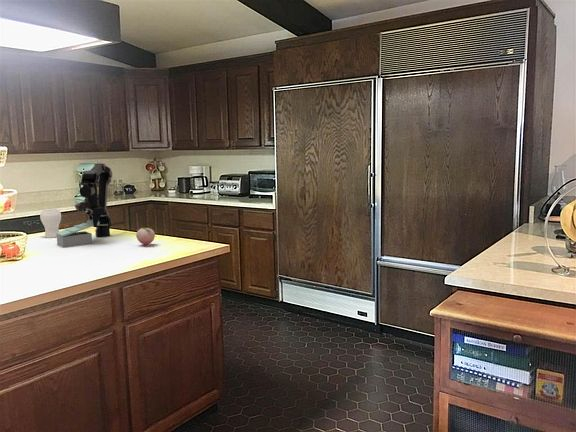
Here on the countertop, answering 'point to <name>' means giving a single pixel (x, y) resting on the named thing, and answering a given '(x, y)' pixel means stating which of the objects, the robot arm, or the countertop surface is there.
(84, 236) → the tub
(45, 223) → the cup
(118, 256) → the countertop surface
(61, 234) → the lid
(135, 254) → the countertop surface
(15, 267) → the countertop surface
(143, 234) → the decorative fruit
